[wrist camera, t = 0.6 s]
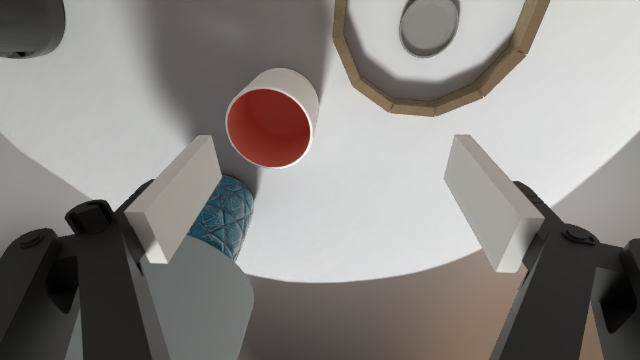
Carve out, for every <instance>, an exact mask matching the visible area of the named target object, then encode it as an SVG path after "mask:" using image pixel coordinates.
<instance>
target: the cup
mask: <svg viewBox="0 0 640 360" xmlns="http://www.w3.org/2000/svg"><path fill="white" fill-rule="evenodd" d="M318 113H319V102H318V97H317V94H316V92H315V89H314V88H313V86H312V85H311V83H310V82H309V81H308V80H307V79H306V78H305V77H304V76H302V75H301V74H299V73H298V72H296V71H293V70H290V69H286V68H273V69H269V70H266V71H264V72H262V73H261V74H259V75H258V76H257V77H256V78H255V79H254V80H253V81H251V82H250V83H249V84H248V85H247V86H246V87H245V88H244V89H243V90H242V91H241V92H240V93H239V94H238V95H236V96H235V97H234V99H233V100H232V101H231V103H230V104H229V106H228V109H227V112H226V117H225V127H226V132H227V136H228V138H229V140H230V142H231V144H232V146H233V147H234V149H235V150H236V151H237V152H238V153H239V154H240V155H241V156H242V157H243V158H244V159H246V160H247V161H249V162H251V163H253V164H255V165H257V166H260V167H263V168H269V169H280V168H285V167H289V166H291V165H294V164H295V163H297V162H299V161H300V160H301V159H302V158H303V157H304V156H305V155H306V154H307V152H308V150H309V149H310V146H311V144H312V140H313V135H314V131H315V127H316V122H317V118H318Z"/></svg>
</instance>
